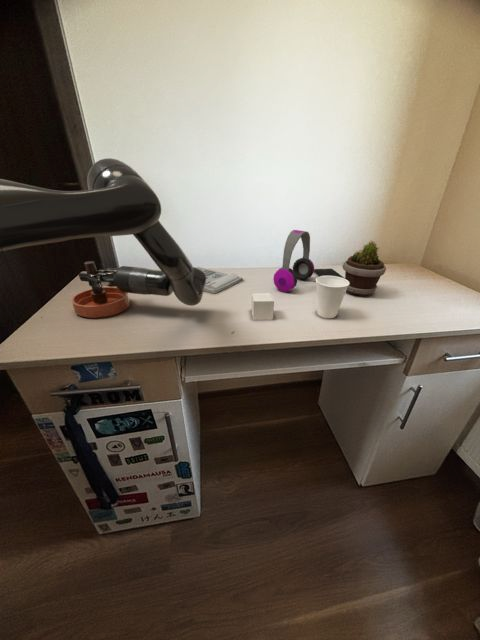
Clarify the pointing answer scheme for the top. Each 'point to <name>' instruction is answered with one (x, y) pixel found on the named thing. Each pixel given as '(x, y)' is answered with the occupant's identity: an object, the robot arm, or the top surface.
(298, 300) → the top surface
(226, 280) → the office telephone
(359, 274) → the flowerpot
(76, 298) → the bowl
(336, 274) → the cell phone
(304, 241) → the headphones
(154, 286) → the robot arm
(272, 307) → the white cube
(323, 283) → the cup
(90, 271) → the muddler
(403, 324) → the top surface
